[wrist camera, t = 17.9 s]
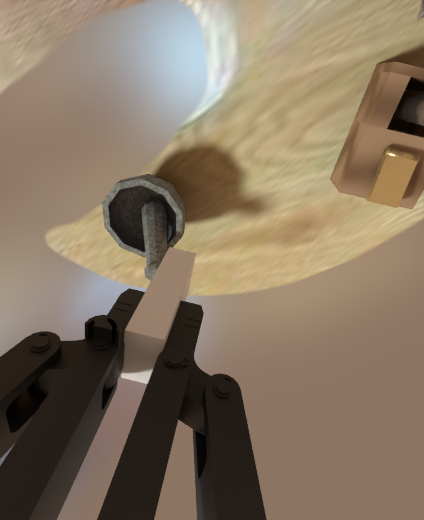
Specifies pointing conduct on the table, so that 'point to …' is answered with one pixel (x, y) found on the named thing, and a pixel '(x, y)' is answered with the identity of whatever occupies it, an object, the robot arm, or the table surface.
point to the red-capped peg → (411, 107)
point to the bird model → (421, 10)
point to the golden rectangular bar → (392, 177)
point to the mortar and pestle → (145, 218)
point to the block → (380, 134)
